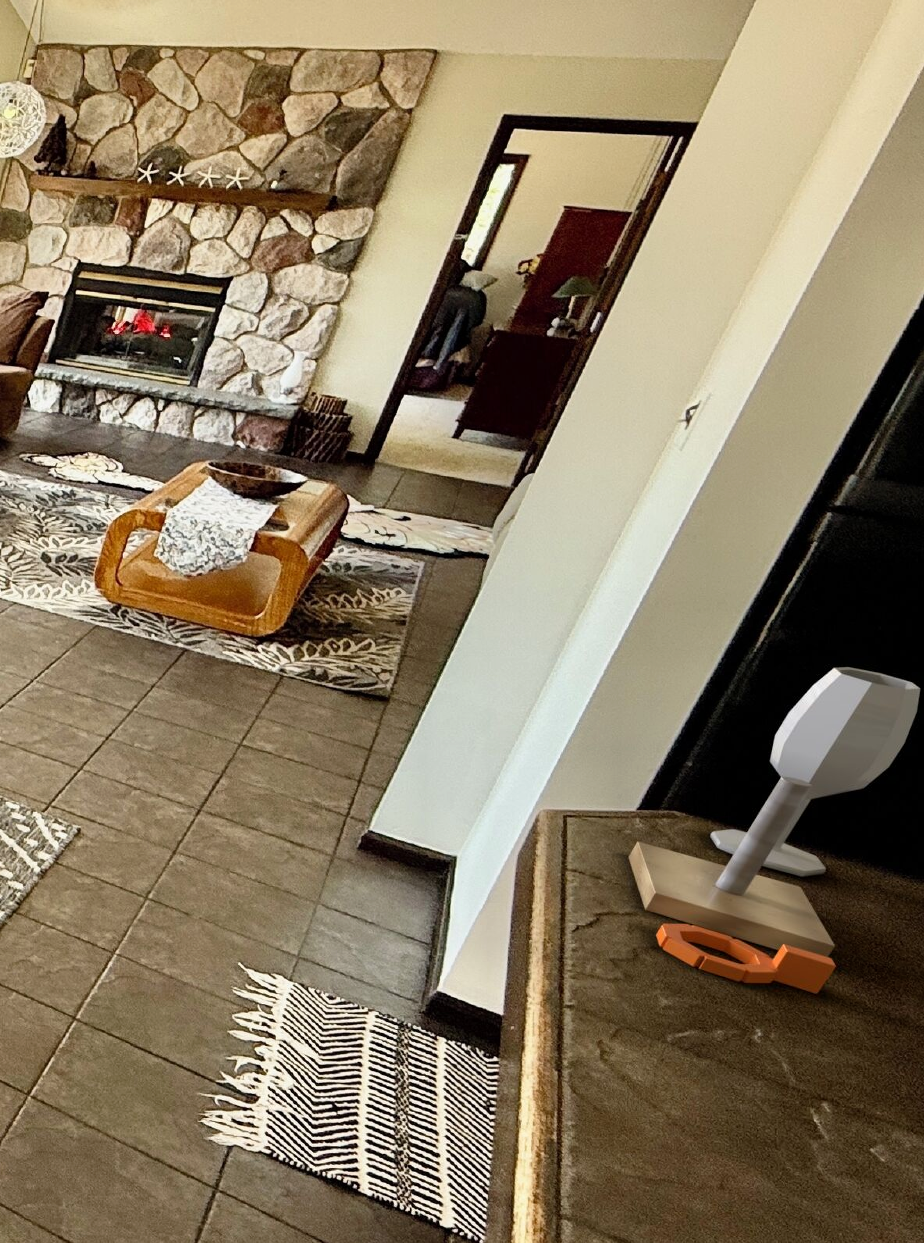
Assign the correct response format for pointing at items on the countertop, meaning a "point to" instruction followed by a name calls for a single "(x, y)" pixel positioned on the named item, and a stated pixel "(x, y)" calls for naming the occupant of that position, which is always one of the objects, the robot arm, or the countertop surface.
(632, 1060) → the countertop surface
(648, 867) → the board
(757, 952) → the ring
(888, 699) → the wineglass
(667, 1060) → the countertop surface
